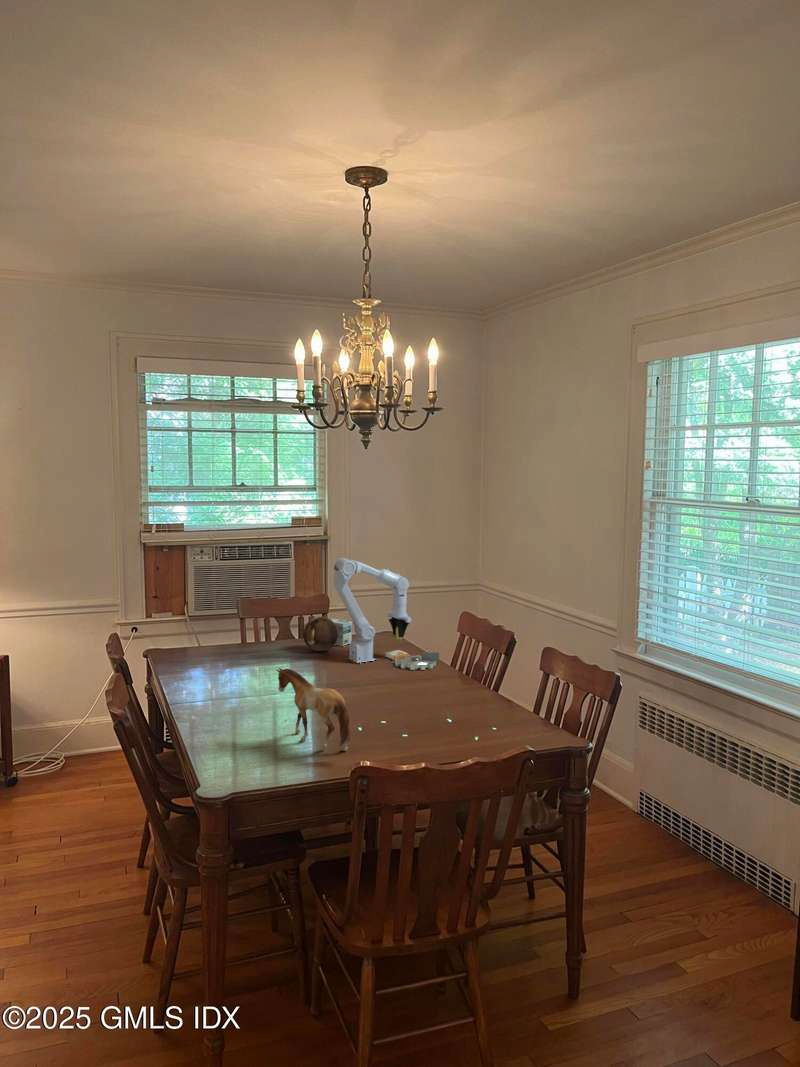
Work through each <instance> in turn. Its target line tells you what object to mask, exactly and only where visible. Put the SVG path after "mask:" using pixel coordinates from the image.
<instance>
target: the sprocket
mask: <svg viewBox="0 0 800 1067" xmlns="http://www.w3.org/2000/svg"><path fill="white" fill-rule="evenodd" d="M439 660H440V652H434V651H433V652H432V651H431V652H421V655H420V654H415V655H411V654H409V655H406V656H405V657H404V656H399V658H396V659H395V661H394V663H395V666H396V667H400V668H401V669H405V670H406V669H409V670H413V671H415V670H421V671H422V670H423V671H424V670H426V669H433V668H434V667H436V666H437V661H439Z"/></svg>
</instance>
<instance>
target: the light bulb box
mask: <svg viewBox="0 0 800 1067" xmlns="http://www.w3.org/2000/svg"><path fill="white" fill-rule="evenodd" d="M330 620H332V621H333V622H334V624H335V625H336V627H337V630H338V638H337V641H336V643H335V644H336V645H342V646H344V645H347V644H350V643H351V642H352V641H353V638H352V637H353V636H352V634H353V633H352V630H353V629H352V626H353V625H352V624H353V620H352V621H350V620H343V619H338V618H337V619H336V618H331V619H330ZM344 647H345V646H344Z"/></svg>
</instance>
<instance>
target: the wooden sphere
mask: <svg viewBox="0 0 800 1067" xmlns="http://www.w3.org/2000/svg"><path fill="white" fill-rule="evenodd" d="M302 633H303V634H302V636H303V641H304V643H305V644H306V646H307V647H308V648H310V650H313V651H315V652H319V651H322V652H326V651H328V650H331V649H332V648H333V647H334V646H335V645H334V644H335V643H336V641H337V638H338V630H337V627H336V625H335V624H334V622H333V621H332V620H331V619H330V618H328V617H327V616H326V617H325V616H317V617H313V618H311V619H310V620H309V621H308V622H307V623H306V624H305V625H304V628H303V632H302Z"/></svg>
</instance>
